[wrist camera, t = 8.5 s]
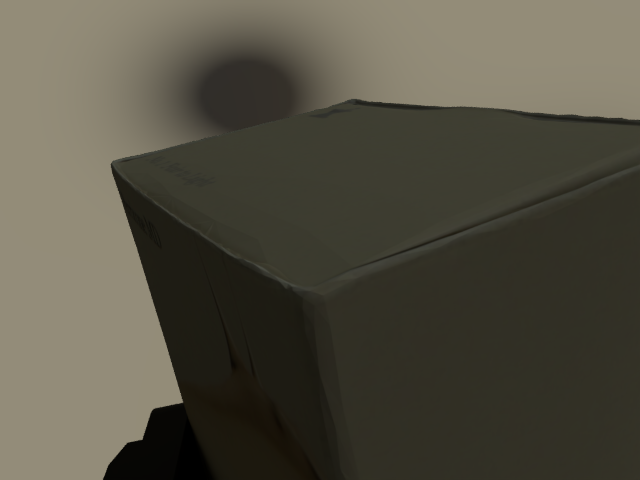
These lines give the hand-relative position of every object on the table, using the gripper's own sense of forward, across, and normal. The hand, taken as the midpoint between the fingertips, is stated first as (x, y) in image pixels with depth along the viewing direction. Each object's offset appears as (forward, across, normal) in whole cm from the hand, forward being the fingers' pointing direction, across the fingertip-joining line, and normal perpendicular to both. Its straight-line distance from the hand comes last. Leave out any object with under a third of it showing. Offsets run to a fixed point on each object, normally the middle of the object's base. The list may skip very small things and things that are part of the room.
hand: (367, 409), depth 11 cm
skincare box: (-2, 0, +7) cm, 7 cm away
